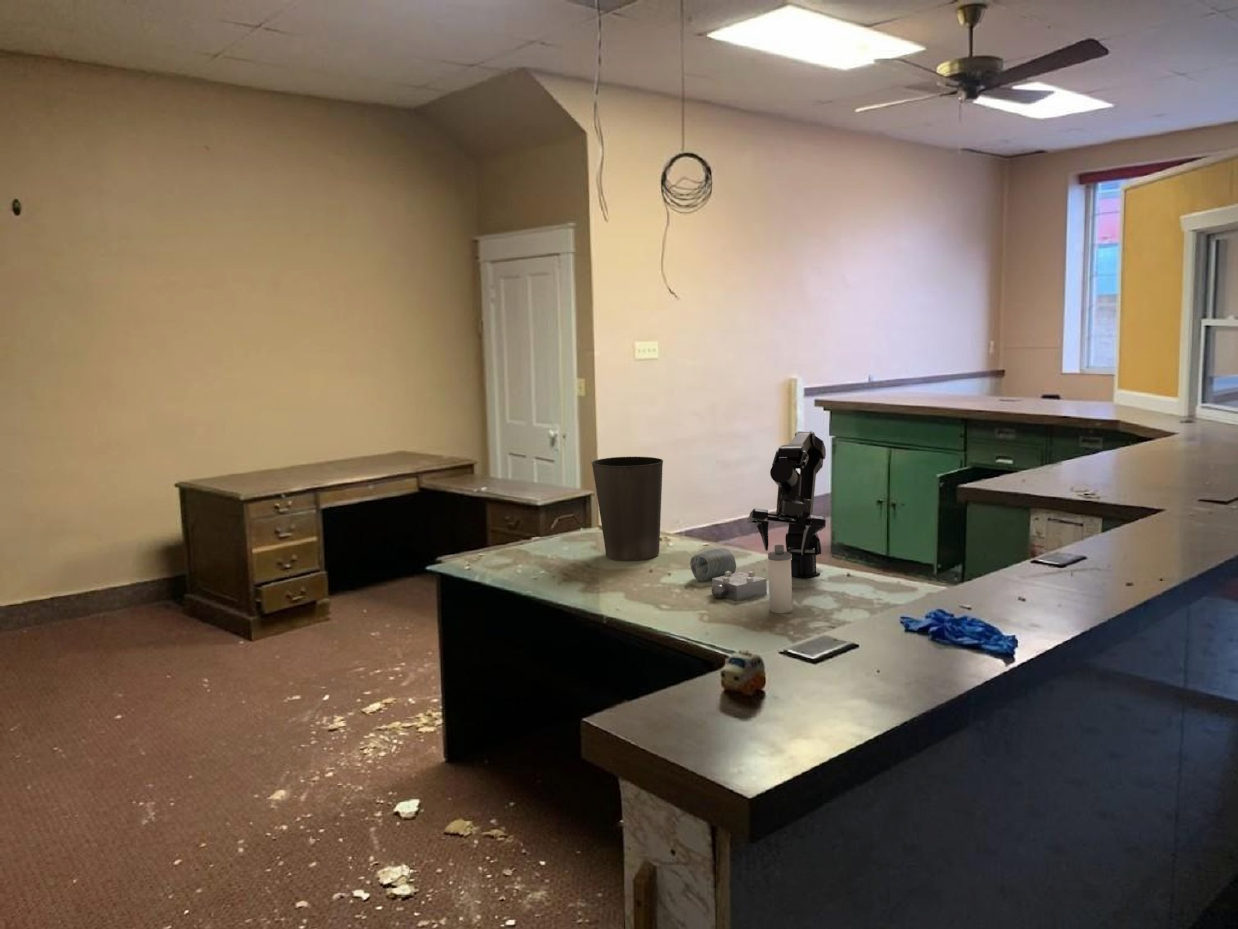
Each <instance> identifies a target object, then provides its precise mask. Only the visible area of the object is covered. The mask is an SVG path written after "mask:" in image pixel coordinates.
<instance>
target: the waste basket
mask: <svg viewBox="0 0 1238 929" xmlns="http://www.w3.org/2000/svg"><path fill="white" fill-rule="evenodd" d="M663 464H664V459H662V458H659V457H651V456H617V457H614V456H613V457H605V458H604V457H603V458H600V459H596V460H592V461H591V466H592V472H593V477H594V478H593V479H594V484H595V489H596V492H595V493H596V497H597V503H598V511H599V517H600V522H601V529H602V536H603V541H604V542H603V543H604V550H605V555H606V559H610V560H612V561H613V560H614V561H618V562H619V561H620V562H630V561H644V560H649V559H652V558H655V557H656V556H658V555H659V554H660V545H661V544H660V541H661V518H662V516H661V515H662V494H663V493H662V490H663Z"/></svg>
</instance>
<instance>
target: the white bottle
mask: <svg viewBox="0 0 1238 929" xmlns="http://www.w3.org/2000/svg"><path fill="white" fill-rule="evenodd" d="M767 560H768V592H769V593H768V594H769V611H770V612H771V613H776V614H787V613H791V612H793V590H792V589H793V586H792V584H793V582H792V581H793V580H792V575H791V560H792V554H791V553H790V552H787V551H785V546H784V545H783V544H775V545H774V551H771V552H768V553H767Z"/></svg>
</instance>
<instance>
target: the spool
mask: <svg viewBox="0 0 1238 929" xmlns="http://www.w3.org/2000/svg"><path fill="white" fill-rule="evenodd" d="M690 569H691V573H692V574H693V576H694V578H695V579H696V580H697V581H698V582H706V581H710V580H712V578H716V577H721V576H725V572H727V571H730V572H732V574H734V573H736V569H737V561H736V558H735V556H734V554H733V552H732V551H731V550H730V549H727V548H722V547H720V548H719V547H718V548H712V549H708V550H704V551H702V552H699V553H695V554H694V555H693V556H692V557H691V558H690Z"/></svg>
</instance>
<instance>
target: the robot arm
mask: <svg viewBox="0 0 1238 929" xmlns="http://www.w3.org/2000/svg"><path fill="white" fill-rule="evenodd" d="M826 455H827V451H826V445H825V443H824V440H822V439H821V438H819V437H817V436H816V433H815V432H814V431H812V430H801V431H800V430H798V431H796V432H795V434H794V437H793V438H792V440H791V441H790V442H789V444H783V445H780V446H779V447H778V450H776V451H775V455H774V457H773V461H772V465H771V468H770V470H769V473H770V474H769V475H770V477H771V479H772V480H773V481H774V483H775V484H776V486H777V498H776V511H775V514H773V513H769V509H763V508H757V507H756V508H753V509H752V510H751V511H750V513H749V515H748V523H752V524H753V527H755V528H756V527H757V530H758V532H759V534H760V537H761V539H762V543H763V547H764V550H765V551H766V552H767V551H769V525H770V524H769V522H775V523H782V524H783V523H784V524H788V530H787V532H785V549H786V552H790V553H791V577H792V576H793V577H795V578H800V579H808V578H812V577H817V576H820V575H821V572H819V571H817V556H818V555H822V544H821V539H820V538H819V534H818V532H820V531H823V529H824V528H826V524H827V523H826V522H827V520H826V518H825V517H824V516H822V515H813V514H814V513H813V510H814V500H815V492H816V490H815V489H816V479H817V474H819V471H820V470H821V469H822V468H823V467H824V466H823V465H824V460H825V459H826ZM797 469H799V472H798V470H797Z"/></svg>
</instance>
